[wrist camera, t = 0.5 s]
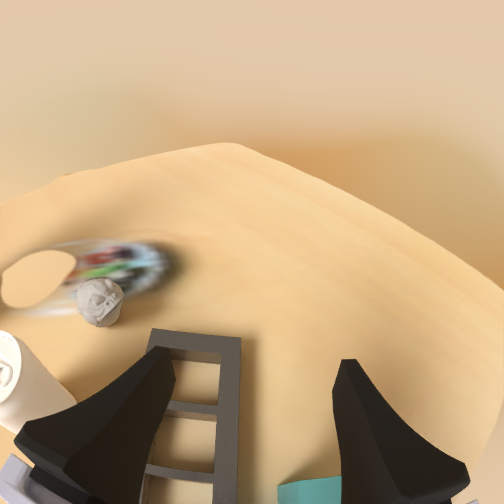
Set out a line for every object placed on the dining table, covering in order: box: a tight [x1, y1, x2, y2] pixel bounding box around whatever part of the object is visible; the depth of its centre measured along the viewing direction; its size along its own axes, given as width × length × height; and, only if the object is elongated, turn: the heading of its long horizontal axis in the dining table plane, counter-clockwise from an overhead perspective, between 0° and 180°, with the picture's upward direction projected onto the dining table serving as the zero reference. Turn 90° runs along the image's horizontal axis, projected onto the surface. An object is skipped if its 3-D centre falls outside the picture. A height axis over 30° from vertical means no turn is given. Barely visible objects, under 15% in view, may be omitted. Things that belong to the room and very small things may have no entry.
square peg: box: [278, 476, 341, 504], centre depth 16 cm, size 4×4×8 cm
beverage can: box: [0, 330, 77, 434], centre depth 16 cm, size 8×8×12 cm
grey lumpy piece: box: [77, 278, 124, 327], centre depth 30 cm, size 6×7×7 cm
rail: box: [139, 328, 241, 504], centre depth 21 cm, size 24×10×2 cm, turn 0°
